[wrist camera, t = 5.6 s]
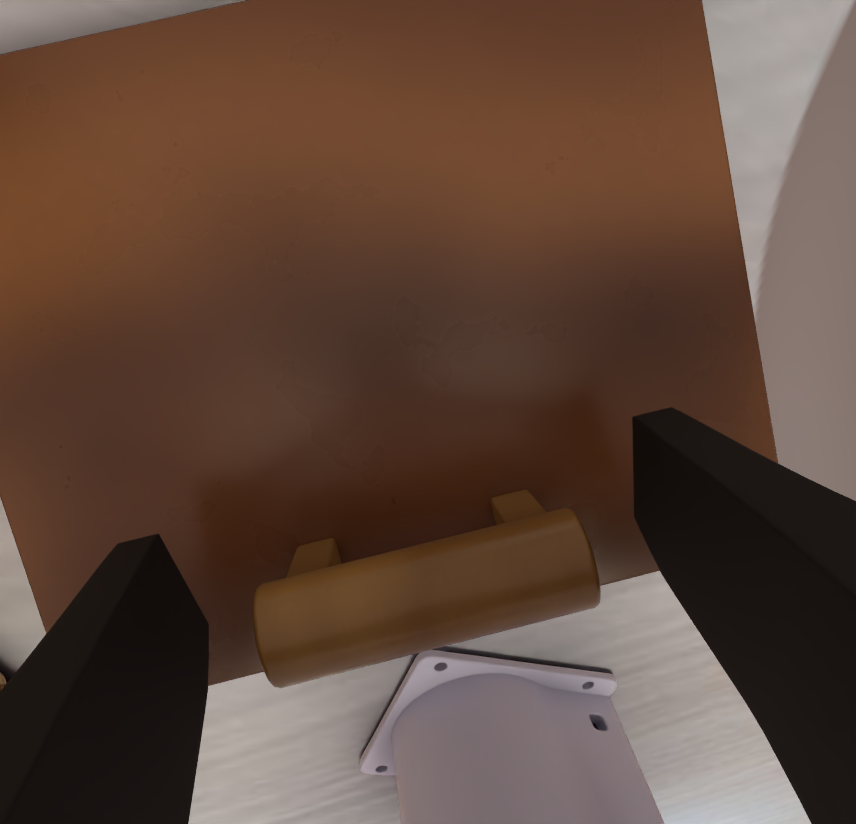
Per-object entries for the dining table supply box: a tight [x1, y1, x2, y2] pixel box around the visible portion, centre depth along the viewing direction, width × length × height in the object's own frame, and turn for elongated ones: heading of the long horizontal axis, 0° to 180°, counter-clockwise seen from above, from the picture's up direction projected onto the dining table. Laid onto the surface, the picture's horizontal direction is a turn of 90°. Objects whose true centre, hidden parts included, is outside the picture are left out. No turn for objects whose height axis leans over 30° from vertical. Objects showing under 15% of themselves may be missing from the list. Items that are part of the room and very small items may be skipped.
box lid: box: [0, 0, 778, 688], centre depth 10 cm, size 11×13×4 cm
